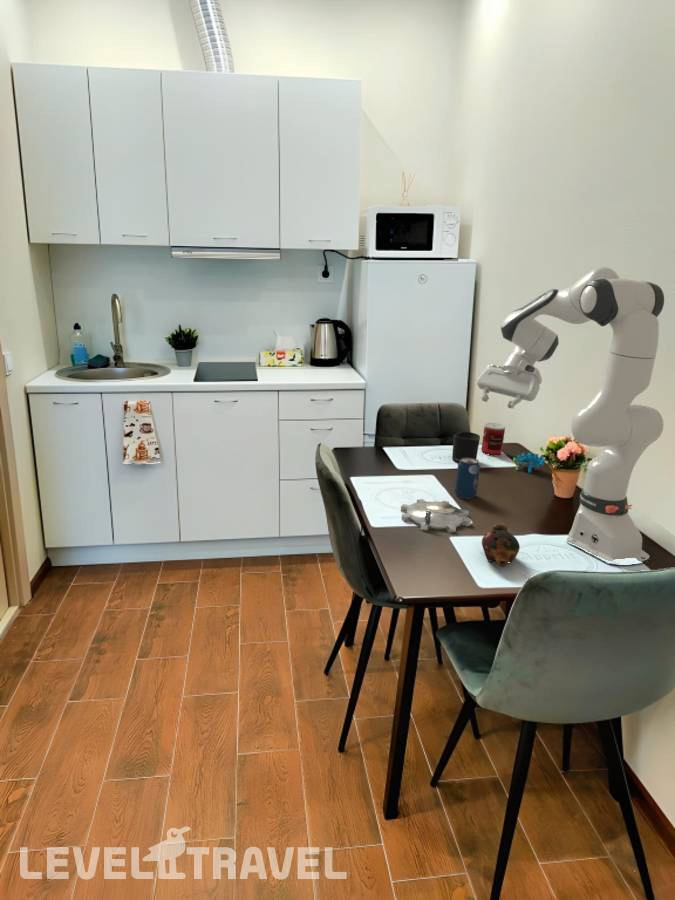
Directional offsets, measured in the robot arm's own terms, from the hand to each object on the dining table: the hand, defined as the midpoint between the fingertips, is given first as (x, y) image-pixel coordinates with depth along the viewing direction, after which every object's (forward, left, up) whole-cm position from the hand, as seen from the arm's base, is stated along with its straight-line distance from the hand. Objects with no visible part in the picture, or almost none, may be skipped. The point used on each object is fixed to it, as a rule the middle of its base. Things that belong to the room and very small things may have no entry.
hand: (496, 403), depth 219 cm
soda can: (-6, +11, -29) cm, 31 cm away
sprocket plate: (-20, +29, -29) cm, 45 cm away
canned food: (+32, -22, -29) cm, 49 cm away
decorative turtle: (-48, +25, -29) cm, 61 cm away
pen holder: (+25, -6, -29) cm, 39 cm away
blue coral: (+12, -25, -29) cm, 40 cm away
